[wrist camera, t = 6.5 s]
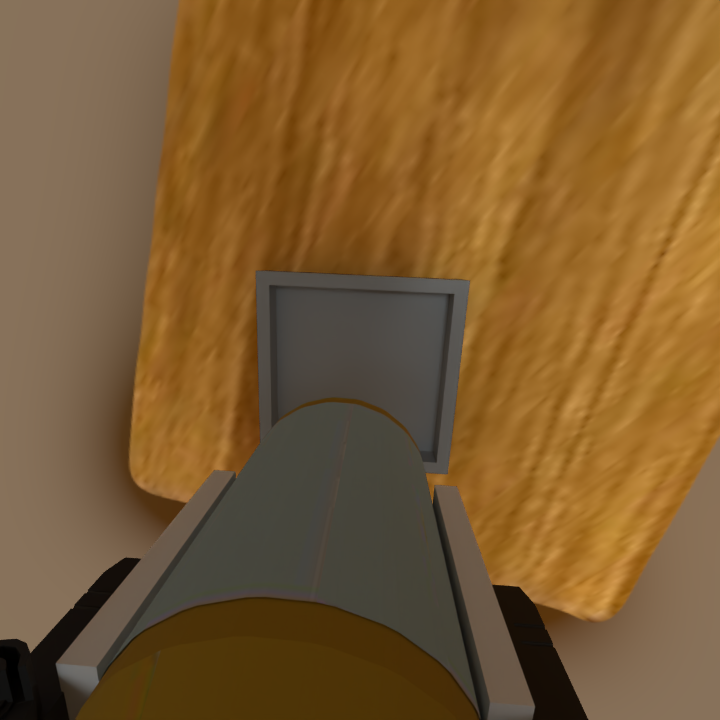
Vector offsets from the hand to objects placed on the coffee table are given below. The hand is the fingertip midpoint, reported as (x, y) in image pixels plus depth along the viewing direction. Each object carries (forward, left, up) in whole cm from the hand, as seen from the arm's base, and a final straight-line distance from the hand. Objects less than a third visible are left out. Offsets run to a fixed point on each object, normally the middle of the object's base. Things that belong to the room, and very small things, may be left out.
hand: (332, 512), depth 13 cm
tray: (0, 0, -19) cm, 19 cm away
